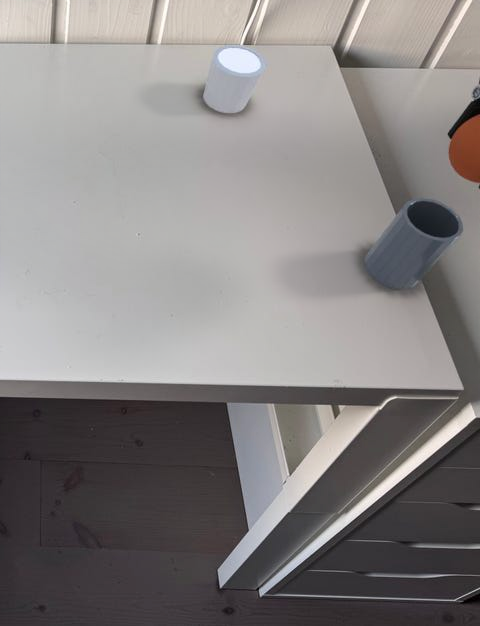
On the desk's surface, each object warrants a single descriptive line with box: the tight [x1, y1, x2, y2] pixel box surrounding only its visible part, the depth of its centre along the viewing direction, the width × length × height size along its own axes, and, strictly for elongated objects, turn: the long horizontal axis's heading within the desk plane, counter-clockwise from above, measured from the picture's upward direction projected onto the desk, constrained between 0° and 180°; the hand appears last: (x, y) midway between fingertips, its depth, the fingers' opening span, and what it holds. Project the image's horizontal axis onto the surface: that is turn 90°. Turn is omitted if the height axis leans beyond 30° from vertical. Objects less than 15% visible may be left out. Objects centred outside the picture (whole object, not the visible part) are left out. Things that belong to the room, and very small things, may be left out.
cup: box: [363, 197, 464, 291], centre depth 73 cm, size 6×6×9 cm
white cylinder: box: [202, 44, 267, 114], centre depth 89 cm, size 7×7×7 cm
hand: (479, 162), depth 62 cm, fingers closed on ball, 6 cm apart
